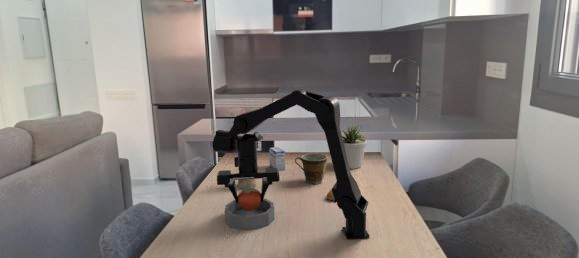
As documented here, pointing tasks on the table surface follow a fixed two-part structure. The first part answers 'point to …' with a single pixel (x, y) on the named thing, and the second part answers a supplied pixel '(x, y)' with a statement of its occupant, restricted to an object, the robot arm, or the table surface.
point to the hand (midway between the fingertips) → (249, 202)
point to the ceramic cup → (313, 167)
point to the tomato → (249, 198)
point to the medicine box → (277, 158)
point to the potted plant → (354, 147)
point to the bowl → (249, 215)
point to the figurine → (246, 183)
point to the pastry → (330, 195)
